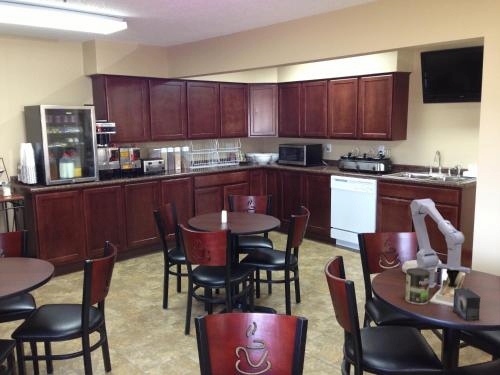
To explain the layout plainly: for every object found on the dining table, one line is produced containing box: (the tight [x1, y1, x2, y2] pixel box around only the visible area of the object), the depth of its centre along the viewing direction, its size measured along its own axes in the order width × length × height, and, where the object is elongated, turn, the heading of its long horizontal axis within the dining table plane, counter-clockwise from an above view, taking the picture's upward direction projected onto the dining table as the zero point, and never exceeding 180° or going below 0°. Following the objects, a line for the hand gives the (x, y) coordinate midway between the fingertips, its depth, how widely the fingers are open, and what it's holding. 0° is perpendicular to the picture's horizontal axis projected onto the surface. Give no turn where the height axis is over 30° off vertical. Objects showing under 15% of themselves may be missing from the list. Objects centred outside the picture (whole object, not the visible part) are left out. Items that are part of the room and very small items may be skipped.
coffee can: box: [404, 268, 430, 306], centre depth 214 cm, size 10×10×14 cm
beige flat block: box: [435, 290, 454, 303], centre depth 215 cm, size 9×8×2 cm
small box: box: [452, 287, 481, 322], centre depth 198 cm, size 11×6×10 cm, turn 5°
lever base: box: [429, 279, 466, 308], centre depth 219 cm, size 13×25×6 cm, turn 144°
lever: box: [442, 272, 466, 296], centre depth 222 cm, size 7×17×5 cm, turn 144°
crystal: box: [401, 259, 443, 275], centre depth 255 cm, size 7×7×24 cm
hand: (452, 285), depth 220 cm, fingers closed, pressing on lever
